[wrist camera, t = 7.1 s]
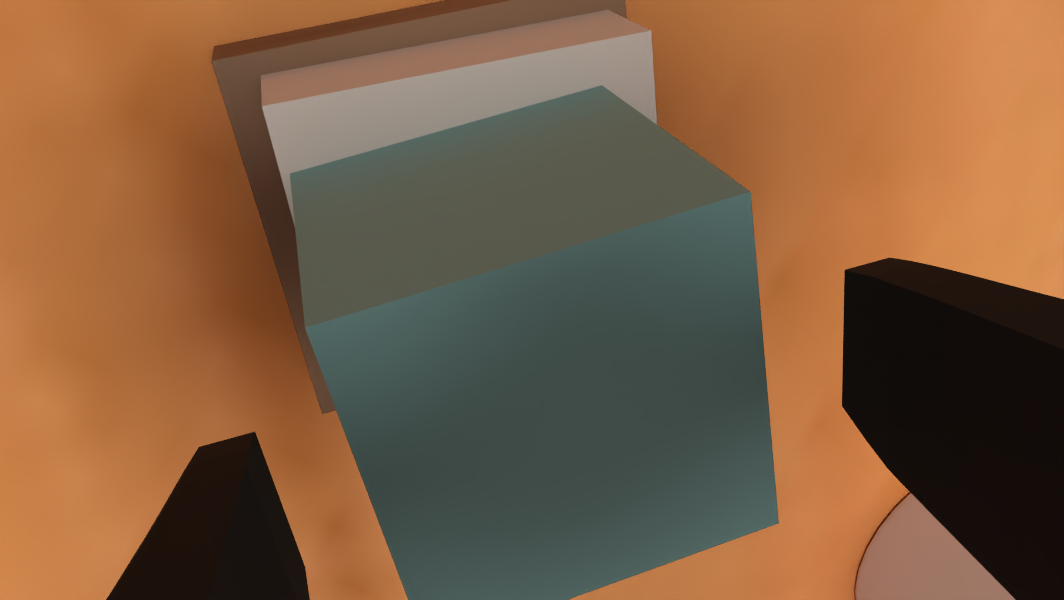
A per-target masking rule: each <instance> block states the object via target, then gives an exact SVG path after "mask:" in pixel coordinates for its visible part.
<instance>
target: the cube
mask: <svg viewBox="0 0 1064 600" xmlns="http://www.w3.org/2000/svg"><path fill="white" fill-rule="evenodd" d="M290 181H291V191H292V201H293V212H294V222H295V232H296V242H297V252H298V262H299V273H300V283H301V293H302V303H303V313H304V323H305V329H306V332H307V335H308V337H309V340H310V343H311V345H312V348H313V350H314V353H315V356H316V358H317V361H318V364H319V366H320V369H321V371H322V374H323V377H324V379H325V382H326V385H327V387H328V390H329V393H330V395H331V398H332V400H333V403H334V406H335V408H336V411H337V414H338V416H339V419H340V421H341V424H342V427H343V429H344V432H345V435H346V437H347V440H348V442H349V445H350V448H351V450H352V453H353V456H354V458H355V461H356V463H357V466H358V469H359V471H360V474H361V477H362V479H363V482H364V484H365V487H366V490H367V492H368V495H369V498H370V500H371V503H372V505H373V508H374V511H375V513H376V516H377V519H378V521H379V524H380V526H381V529H382V532H383V534H384V537H385V540H386V542H387V545H388V548H389V550H390V553H391V555H392V558H393V561H394V563H395V566H396V569H397V571H398V574H399V576H400V579H401V582H402V584H403V587H404V590H405V592H406V595H407V597H408V600H568V599H571V598H573V597H576V596H579V595H582V594H585V593H587V592H590V591H593V590H596V589H598V588H601V587H604V586H607V585H609V584H612V583H615V582H618V581H620V580H623V579H626V578H629V577H631V576H634V575H637V574H640V573H642V572H645V571H648V570H651V569H654V568H656V567H659V566H662V565H665V564H667V563H670V562H673V561H676V560H678V559H681V558H684V557H687V556H689V555H692V554H695V553H698V552H700V551H703V550H706V549H709V548H712V547H714V546H717V545H720V544H723V543H725V542H728V541H731V540H734V539H736V538H739V537H742V536H745V535H747V534H750V533H753V532H756V531H758V530H761V529H764V528H767V527H770V526H772V525H775V524H778V523H779V521H778V509H777V498H776V486H775V474H774V462H773V451H772V439H771V427H770V415H769V404H768V392H767V380H766V368H765V357H764V345H763V333H762V322H761V310H760V298H759V286H758V275H757V263H756V251H755V239H754V228H753V216H752V204H751V192H750V191H749V190H747V189H746V188H745V187H743V186H742V185H740V184H739V183H738V182H736V181H735V180H734V179H732V178H731V177H729V176H728V175H727V174H725V173H724V172H722V171H721V170H720V169H718V168H717V167H715V166H714V165H713V164H711V163H710V162H708V161H707V160H706V159H704V158H703V157H701V156H700V155H699V154H697V153H696V152H694V151H693V150H692V149H690V148H689V147H687V146H686V145H685V144H683V143H682V142H680V141H679V140H678V139H676V138H675V137H673V136H672V135H671V134H669V133H668V132H667V131H665V130H664V129H662V128H661V127H660V126H658V125H657V124H655V123H654V122H653V121H651V120H650V119H648V118H647V117H646V116H644V115H643V114H641V113H640V112H639V111H637V110H636V109H634V108H633V107H632V106H630V105H629V104H627V103H626V102H625V101H623V100H622V99H620V98H619V97H618V96H616V95H615V94H613V93H612V92H611V91H609V90H608V89H606V88H605V87H604V86H602V85H601V86H597V87H594V88H590V89H587V90H583V91H580V92H576V93H572V94H569V95H565V96H562V97H558V98H555V99H551V100H548V101H544V102H541V103H537V104H534V105H530V106H526V107H523V108H519V109H516V110H512V111H509V112H505V113H502V114H498V115H495V116H491V117H488V118H484V119H481V120H477V121H474V122H470V123H466V124H463V125H459V126H456V127H452V128H449V129H445V130H442V131H438V132H435V133H431V134H428V135H424V136H421V137H417V138H413V139H410V140H406V141H403V142H399V143H396V144H392V145H389V146H385V147H382V148H378V149H375V150H371V151H368V152H364V153H361V154H357V155H353V156H350V157H346V158H343V159H339V160H336V161H332V162H329V163H325V164H322V165H318V166H315V167H311V168H308V169H304V170H301V171H297V172H293V173H290Z"/></svg>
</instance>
